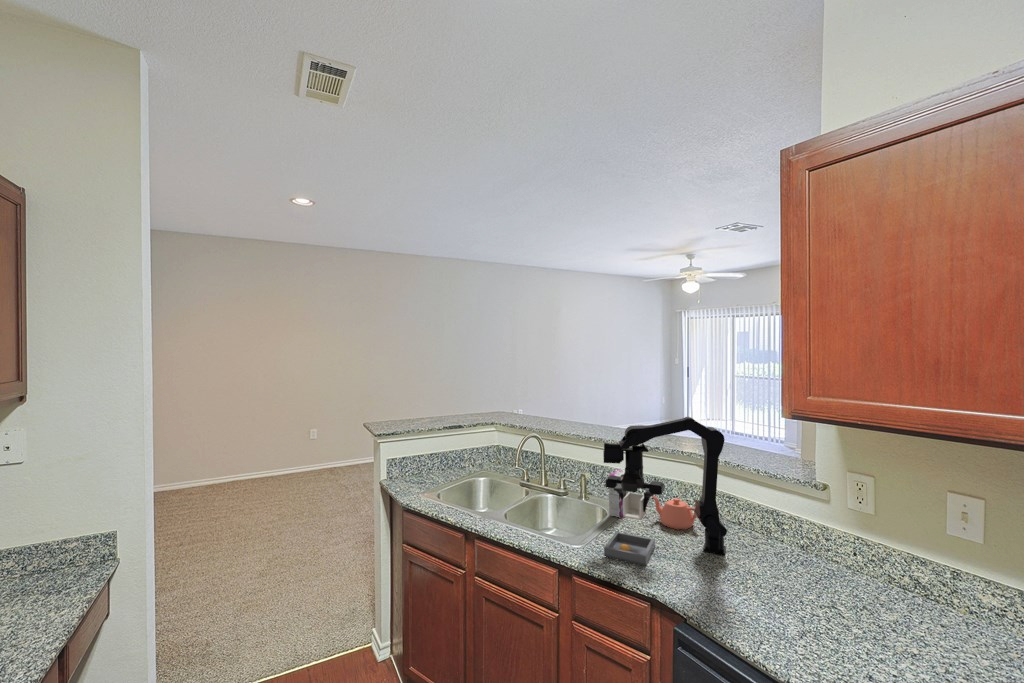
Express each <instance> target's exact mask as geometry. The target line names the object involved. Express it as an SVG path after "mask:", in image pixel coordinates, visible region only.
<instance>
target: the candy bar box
mask: <svg viewBox="0 0 1024 683" xmlns="http://www.w3.org/2000/svg"><path fill="white" fill-rule="evenodd" d="M624 473H625V469H623V468H619V469H617V470H616V471H614V472H612V473H610V474H608V477H610V476H611V475H612V476H619V477H620V478H621V480H622V478H623V476H624ZM613 489H614V488H609V487H608V499H609V500H608V501H609V508H608V509H609V517H612V516H616V517H615V518H617V517H619V518H618V519H622V518H623V517H622V516H623V503H622V500H621V498H620V496H619V494H618V492H617V491H614V490H613ZM628 492H630V491H626V495H627V494H628ZM630 493H632V492H630ZM621 517H622V518H621Z"/></svg>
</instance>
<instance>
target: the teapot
mask: <svg viewBox="0 0 1024 683" xmlns="http://www.w3.org/2000/svg"><path fill="white" fill-rule="evenodd" d="M651 497H652V498H653V499H654V503H655V509H656V512H657V514H658V515H659V519H660V520H659V521H660V522H661V524H662V526H664V527H666V526H667V527H666V528H669V527H670V529H673V528H674V530H678V529H685V530H688V528H689V529H690V528H691V527H692V526H693V525H694V523H695V520H696V519H697V518H698V517H697V515H696V513H695V511H694V510H695V507H693V506H692V507H690V505H688V503H687V502H686V501H682V500H681V499H680V498H676V497H674V498H673V499H669V500H667V501H665V503H664V504H663V506H661V505H660V504H661V503H660V501H659V498H658V497H657V496H655V495H653V496H651ZM692 511H693V512H694V513H693V512H692Z"/></svg>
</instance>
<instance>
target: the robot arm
mask: <svg viewBox="0 0 1024 683" xmlns="http://www.w3.org/2000/svg"><path fill="white" fill-rule="evenodd" d="M685 431H690V432H692V433H693V434H695V435H697V436H698V437H700V438H701V439H700V440H701V446H702V449H703V453H704V454H703V456H704V457H703V474H702V489H701V490H702V491H701V496H700V499H699V500H697V499H695V500H694V503H695V504H694V505H695V507H694V508H695V510H694V511H695V513H696V515H697V517H696V518H697V519H698V520H699V521H700V522H699V523H700V524H701V525H702V526H703V527H704V545H703V548H702V551H703V552H707V553H712V554H717V555H722V556H726V550H727V545H725V537H726V536H727V533H728V529H727V528H726V526H725V525H724V524H723V523H722V521H721V520H720V513H719V508H718V504H717V491H718V490H717V486H718V474H719V473H718V470H719V469H718V468H719V458H720V455H721V453H722V451H723V450H724V449H723V448H724V446H725V445H724V444H725V442H726V441H725V436H724V434H723V433H722V432H721V431H719V430H718V429H716V428H715V427H712V426H708V427H707V426H705V425H703V423H702V424H701V423H700V422H699V421H697V420H695V419H694V418H693V417H692V416H685V417H683V418H677V419H674V420H669V421H665V422H661V423H655V424H652V425H642V424H641V425H640V424H638V425H630V426H628V427H626V428H625V430H624V435H623V437H622V438H621V440H620V441H619V442H618V443H615V442H614V443H612V442H604V443H603V458H602V459H603V464H617V465H619V464H621V463H622V462H623V461H624V458H625V467H624V470H625V473H624V476H623V478H622V480H621V478H620V477H619V476H612V475H611V476H610V477H609V476H608V477H607V478H606V479H605V481H604V482H605V488H608V489H609V488H614V489H613V490H614V491H617V492H618V494H619V496H620V498H621V500H622V503H623V498H624V497H625V496H626V491H630V492H631V493H637V492H638V489H639V490H641V489H644V490H645V491H644V493H643V494H644V504H643V512H645V510H646V511H647V507H648V505H649V501H650V499H651V497H652V496H655V495H658V496H662V495H663V494H664V491H665V484H664V483H663V481H657V480H651V481H650V483H647V482H645V480H644V462H643V460H644V459H643V458H644V455H643V454H644V453H648V452H649V450H650V449H649V448H648V447H646V445H645V444H644V443H646V442H649V441H650V440H652V439H655V438H658V437H663V436H668V435H673V434H677V433H682V432H685ZM624 453H625V455H624ZM694 511H693V512H694Z"/></svg>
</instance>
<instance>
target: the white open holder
mask: <svg viewBox="0 0 1024 683" xmlns="http://www.w3.org/2000/svg"><path fill="white" fill-rule="evenodd" d="M643 504H644V493H637V492H631V493H630V492H628V494H627V495H626V496H625V497H624V498H623V517H622V518H626V519H632V520H637V521H642V520H643V518H644V517H645V515H646V514H647V509H646V510H645V512H643Z"/></svg>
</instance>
